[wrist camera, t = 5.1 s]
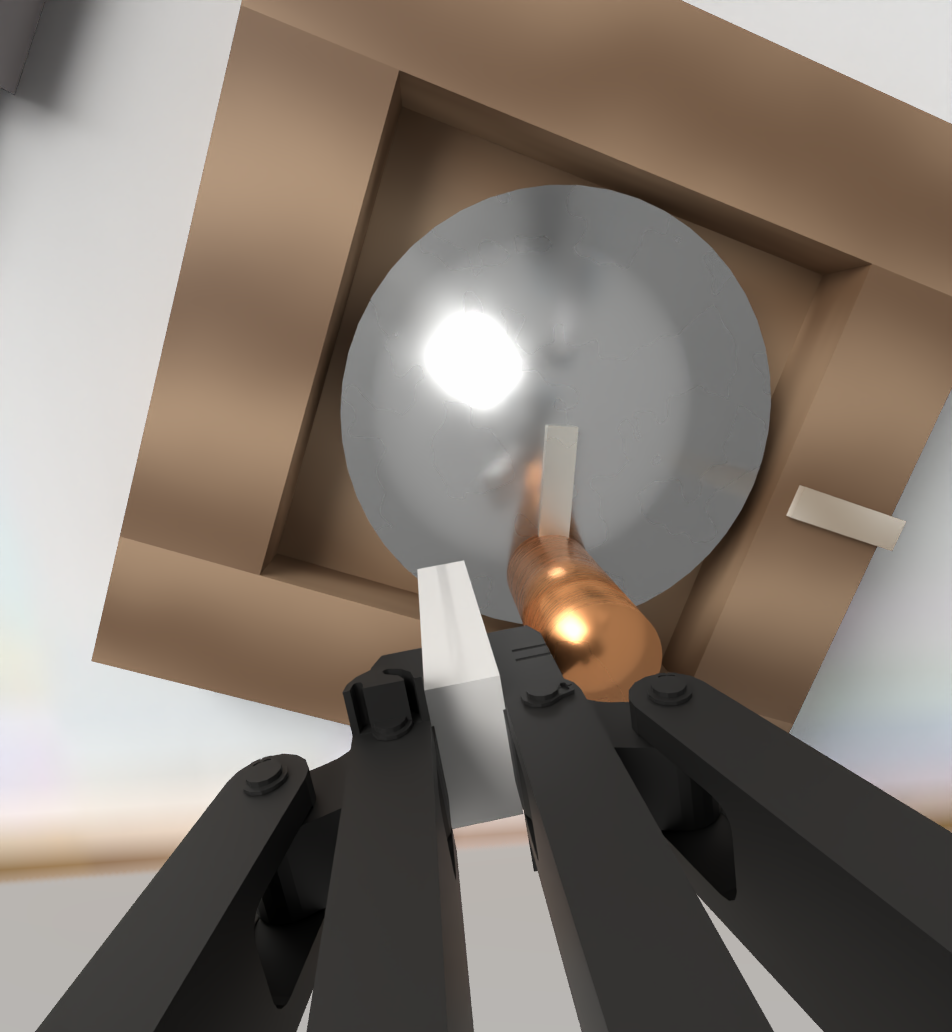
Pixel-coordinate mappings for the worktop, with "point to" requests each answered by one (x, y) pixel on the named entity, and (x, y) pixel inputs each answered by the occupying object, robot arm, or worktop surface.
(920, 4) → the worktop surface
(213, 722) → the worktop surface
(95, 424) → the worktop surface
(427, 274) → the dial
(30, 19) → the screwdriver
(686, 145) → the housing
